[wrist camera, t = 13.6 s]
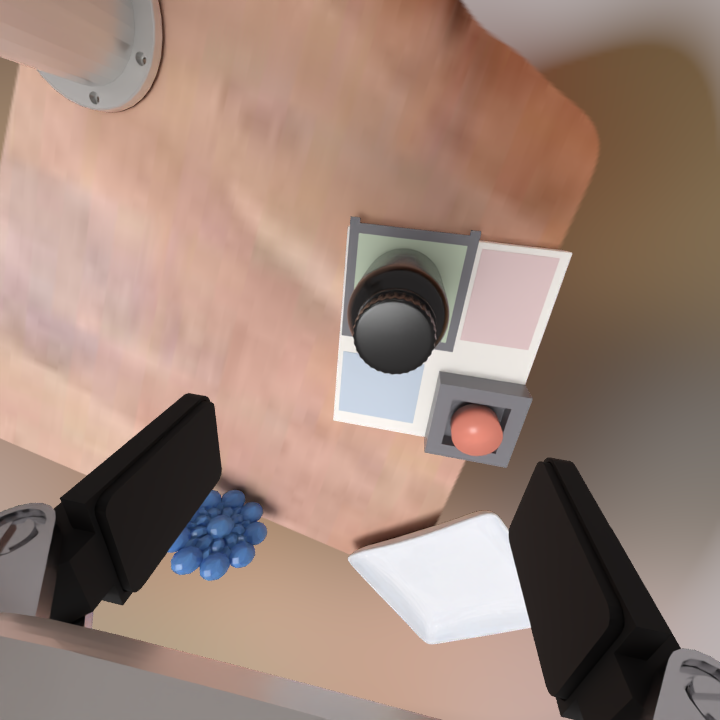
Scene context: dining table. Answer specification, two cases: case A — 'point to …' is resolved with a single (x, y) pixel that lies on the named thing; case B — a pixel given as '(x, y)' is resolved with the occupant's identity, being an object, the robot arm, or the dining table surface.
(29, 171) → the dining table surface
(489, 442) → the button
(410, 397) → the printed board
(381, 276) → the supplement bottle
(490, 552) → the salad plate
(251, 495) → the dining table surface
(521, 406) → the button housing
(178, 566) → the grapes
